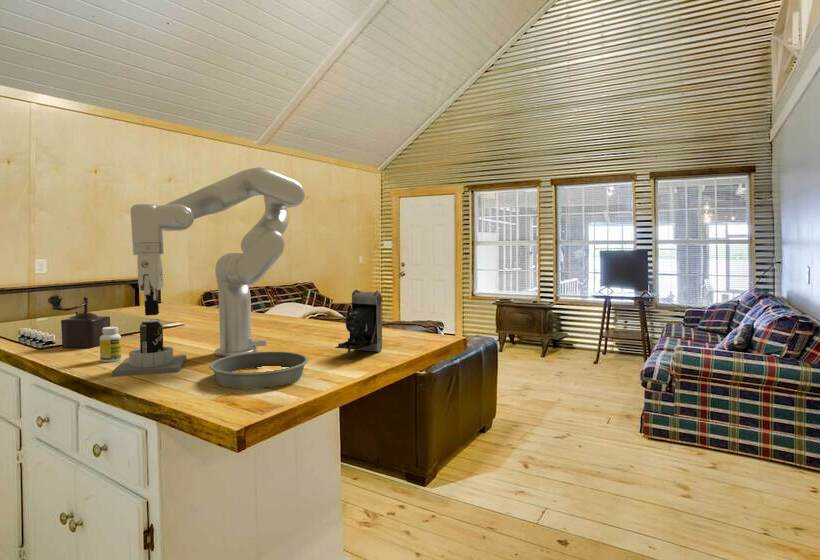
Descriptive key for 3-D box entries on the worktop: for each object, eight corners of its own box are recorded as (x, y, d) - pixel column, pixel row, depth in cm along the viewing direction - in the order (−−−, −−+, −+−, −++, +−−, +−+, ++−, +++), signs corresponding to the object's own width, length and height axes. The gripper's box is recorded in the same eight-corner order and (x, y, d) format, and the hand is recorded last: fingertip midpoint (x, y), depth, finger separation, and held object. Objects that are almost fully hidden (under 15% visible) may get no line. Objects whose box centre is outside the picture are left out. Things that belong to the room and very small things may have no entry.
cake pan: (295, 362, 146) (295, 347, 146) (320, 383, 124) (320, 365, 124) (205, 372, 135) (204, 356, 135) (215, 397, 113) (214, 377, 113)
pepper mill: (82, 341, 175) (80, 291, 174) (112, 342, 174) (110, 291, 173) (46, 351, 160) (43, 295, 158) (79, 352, 159) (76, 296, 157)
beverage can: (164, 358, 144) (163, 317, 143) (162, 363, 139) (161, 320, 138) (142, 360, 142) (140, 318, 141) (139, 365, 137) (138, 321, 136)
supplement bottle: (111, 362, 144) (110, 329, 144) (96, 361, 145) (94, 328, 145) (126, 358, 150) (124, 326, 149) (110, 357, 151) (109, 325, 150)
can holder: (186, 358, 150) (186, 343, 150) (179, 371, 135) (178, 354, 134) (126, 362, 145) (126, 346, 145) (112, 376, 130) (111, 358, 130)
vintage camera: (332, 359, 151) (331, 295, 148) (356, 348, 165) (356, 288, 163) (361, 363, 147) (360, 297, 145) (383, 351, 161) (383, 290, 159)
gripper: (158, 249, 132) (162, 318, 133) (167, 248, 146) (171, 310, 148) (126, 250, 129) (130, 319, 131) (139, 249, 144) (142, 311, 145)
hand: (152, 314), depth 139 cm, fingers closed
